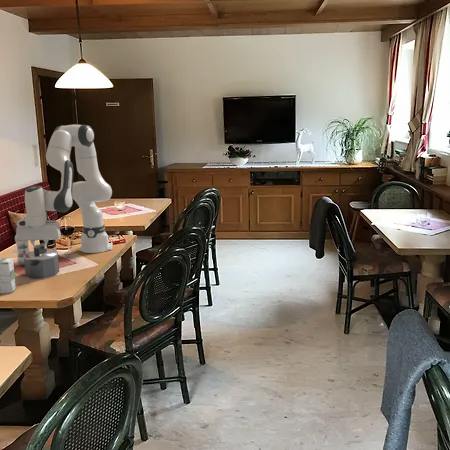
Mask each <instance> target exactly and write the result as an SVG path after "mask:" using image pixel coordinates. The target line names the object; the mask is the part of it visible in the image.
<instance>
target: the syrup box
mask: <svg viewBox="0 0 450 450" xmlns="http://www.w3.org/2000/svg"><path fill="white" fill-rule="evenodd" d="M14 267H15V265H14V258H13V257H2V258H0V294H12V293H14V291H16V289H17V288H16V275H15V268H14Z"/></svg>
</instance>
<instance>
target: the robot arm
mask: <svg viewBox="0 0 450 450" xmlns="http://www.w3.org/2000/svg"><path fill="white" fill-rule="evenodd" d="M94 140H95V131H94V129H93V128H92V126H90V125H87V124H68V125H58V126H56V128H55V129H54V130H53V133H52V135H51V137H50V140H49V143H48V146H47V150H46V153H45V159H46V162H47V164H48V165H49V166H50V167H52V168H54V169H55V170H57V171H58V172H59V171H60V174H61V178H60V181H61V182H60V189H58V191H57V190H56V191H55V190H46V189H44V188H43V187H42V186H41V185H34V186H29V187H27V188H26V189H25V191H24V204H25V209H26V217H24V218H21V219H20V220H18V221H17V222H16V225H17V227H16V229H15V230H16V231H15V232H16V234H15V235H16V236H17V239H18V240H19V241H25V240H28V241H30V244H31V245H32V246H33V249H34V248H35V247H36V246H38V245H39V244H37V243H35V242H36V241H43V243H45V244H44V245H42V247H43V248H42V249H46V248H47V249H48V247H47V244H48V243H49V241H51V240H52V241H57V240H59V239H60V238H61V237H62V236H61V235H62V234H61V230H60V226H61V225H60V222H59V221H57V220H56V219H55V220H50V219H49V220H48V219H47V211H49V212H59V213H67V212H69V210H71V208H72V207H73V204H74V201H75V203H76V204H77V205H78V208H79V210H80V213H81V219H82V234H81V236H80V248H78V252H82V253H84V254H85V253H86V254H98V253H99V254H100V253H103V252H106V251H107V252H108V251H112V250H113V245H114V244H113V242H112V241H110V240H109V235H108V234H107V232H106V227H105V226H106V225H105V223H104V217H103V216H104V215H103V214H104V213H103V210H101V208H99V207H98V206H97V204H96V203H101V202H102V203H103V202H107V201H109V200H110V199H111V197H112V195H113V190H112V187H111V185H110V184H109V183H107V182H106V180H105V179H104V178H103V176H102V175H101V174H102V173H101V172H100V170H99V164H98V158H97V151H96V146H95V143H94ZM72 147H74V154H75V156H74V157H75V163H76V171H77V172H78V174H79V175H81V176H82V178H84V180H85V181H83V180H82V181H81V180H80V181H76V182H74V164H73V162H72V161H71V151H72ZM109 242H111V243H109Z"/></svg>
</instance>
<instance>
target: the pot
mask: <svg viewBox="0 0 450 450" xmlns="http://www.w3.org/2000/svg"><path fill="white" fill-rule="evenodd" d="M24 263H25V265H24V270H25V277H26V278H28V279H31V280H34V279H35V280H36V279H37V280H38V279H49V278H50V277H55V276H56V275H57V274H59V273H60V264H59V254H58V255H57V256H56V257H54V258H51V259H46V260H39V261H29V260H25V259H24ZM58 272H59V273H58Z"/></svg>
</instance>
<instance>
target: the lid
mask: <svg viewBox="0 0 450 450" xmlns="http://www.w3.org/2000/svg"><path fill="white" fill-rule="evenodd" d="M44 244H45V242H42V243H41V242H40V243H39V244H37V245H38V246H36V247H35V248H34V247H33V250H32V251H29V252H28V253H26V254H24V259H25V260H29V261H39V260H46V259H51V258H54V257H56V256H57V255H58V256H59V251H58V250H56V249H50V248H49V249H48V247H47V248H46V249H42V248H43V247H42V245H44Z"/></svg>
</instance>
